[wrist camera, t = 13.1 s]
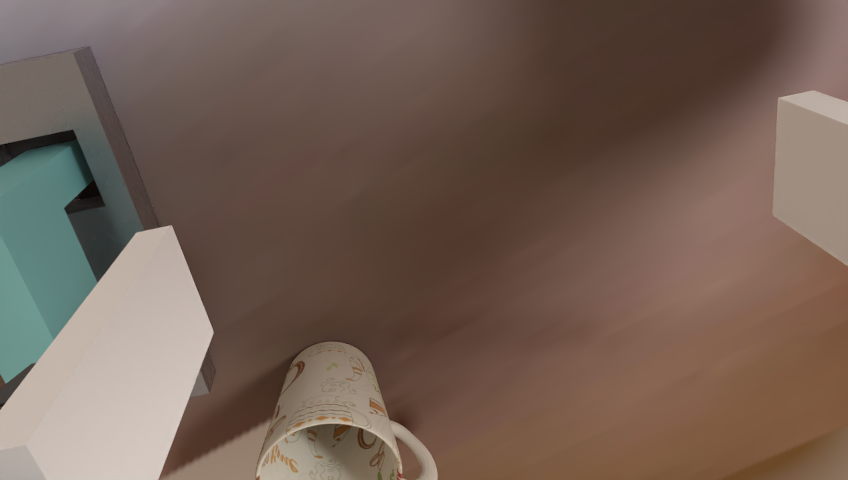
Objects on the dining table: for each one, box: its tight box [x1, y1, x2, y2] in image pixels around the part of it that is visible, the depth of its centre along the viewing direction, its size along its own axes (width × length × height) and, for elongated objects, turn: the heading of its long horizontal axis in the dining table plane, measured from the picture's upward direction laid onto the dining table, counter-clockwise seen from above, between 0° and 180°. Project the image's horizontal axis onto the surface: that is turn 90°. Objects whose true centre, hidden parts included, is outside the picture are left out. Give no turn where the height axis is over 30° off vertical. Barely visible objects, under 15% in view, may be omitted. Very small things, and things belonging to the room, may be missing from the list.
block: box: [0, 46, 216, 398], centre depth 39 cm, size 22×8×2 cm, turn 10°
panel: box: [0, 139, 97, 383], centre depth 35 cm, size 12×3×11 cm, turn 10°
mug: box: [255, 342, 438, 480], centre depth 42 cm, size 8×13×10 cm, turn 57°
